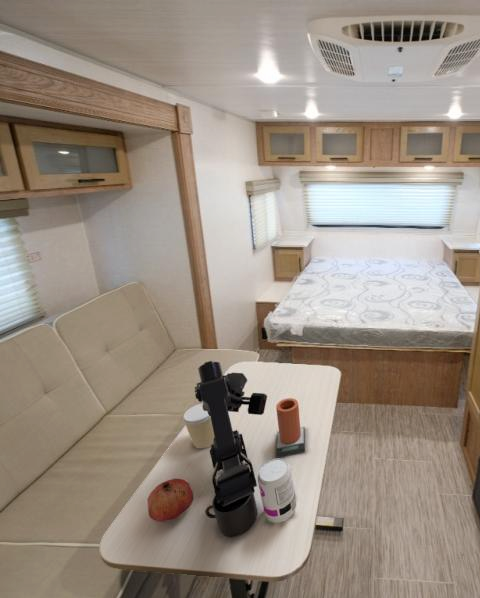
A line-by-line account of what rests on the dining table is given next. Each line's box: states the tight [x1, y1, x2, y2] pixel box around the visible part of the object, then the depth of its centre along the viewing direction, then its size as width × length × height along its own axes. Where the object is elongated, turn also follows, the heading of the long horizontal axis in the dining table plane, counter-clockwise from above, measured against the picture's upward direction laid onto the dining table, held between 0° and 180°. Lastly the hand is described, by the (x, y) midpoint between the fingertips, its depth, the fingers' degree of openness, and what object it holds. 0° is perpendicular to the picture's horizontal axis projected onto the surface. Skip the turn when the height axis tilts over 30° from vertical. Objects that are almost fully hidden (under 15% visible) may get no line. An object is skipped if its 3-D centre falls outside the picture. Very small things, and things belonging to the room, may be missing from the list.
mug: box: [204, 492, 259, 538], centre depth 89 cm, size 9×12×9 cm
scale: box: [275, 426, 306, 458], centre depth 115 cm, size 10×9×2 cm
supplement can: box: [257, 458, 297, 524], centre depth 90 cm, size 8×8×15 cm
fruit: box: [147, 477, 195, 523], centre depth 91 cm, size 11×10×10 cm
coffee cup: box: [182, 402, 215, 449], centre depth 114 cm, size 9×9×12 cm
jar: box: [275, 397, 301, 444], centre depth 113 cm, size 7×7×13 cm
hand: (247, 405), depth 113 cm, fingers open, 9 cm apart
